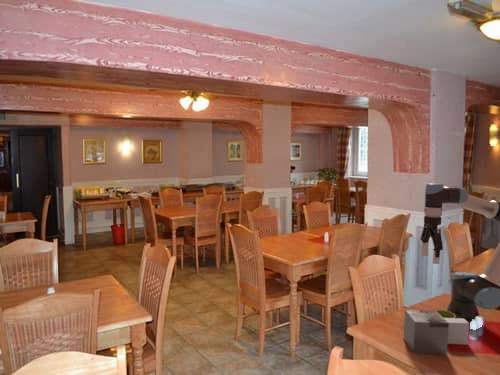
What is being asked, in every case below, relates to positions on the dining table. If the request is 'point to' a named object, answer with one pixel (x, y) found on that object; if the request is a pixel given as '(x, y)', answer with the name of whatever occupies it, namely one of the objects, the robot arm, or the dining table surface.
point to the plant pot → (446, 314)
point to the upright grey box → (457, 331)
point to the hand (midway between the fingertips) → (430, 259)
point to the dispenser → (426, 332)
